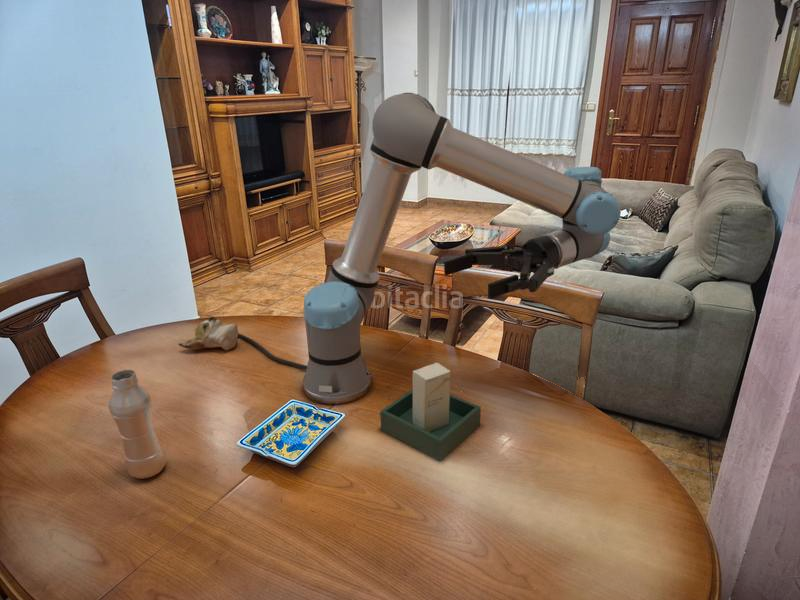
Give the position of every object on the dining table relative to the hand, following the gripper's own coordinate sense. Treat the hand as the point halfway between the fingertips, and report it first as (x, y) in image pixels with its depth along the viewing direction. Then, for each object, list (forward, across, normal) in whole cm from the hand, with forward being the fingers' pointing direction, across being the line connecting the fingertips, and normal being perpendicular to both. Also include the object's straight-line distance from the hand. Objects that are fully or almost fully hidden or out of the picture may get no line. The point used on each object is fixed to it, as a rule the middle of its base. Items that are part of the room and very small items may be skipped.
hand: (465, 279), depth 97 cm
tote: (+11, -3, -28) cm, 31 cm away
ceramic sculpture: (+40, +57, -28) cm, 75 cm away
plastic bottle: (+61, +14, -25) cm, 68 cm away
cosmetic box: (+11, -3, -28) cm, 30 cm away
